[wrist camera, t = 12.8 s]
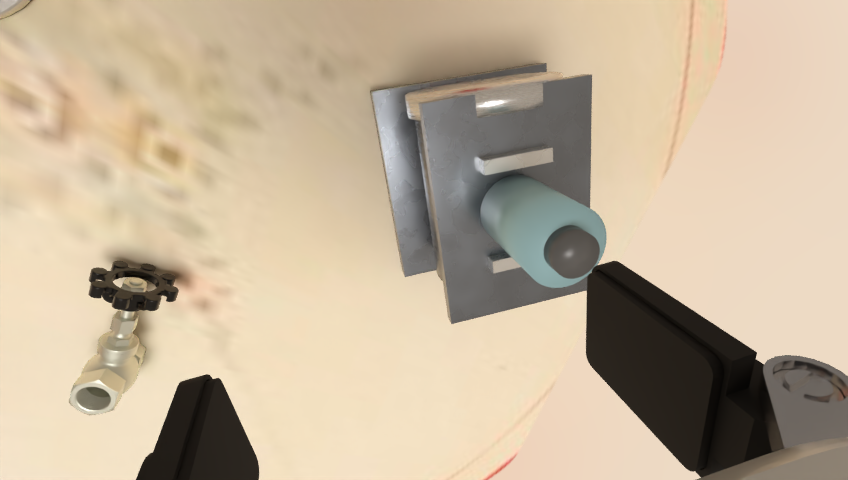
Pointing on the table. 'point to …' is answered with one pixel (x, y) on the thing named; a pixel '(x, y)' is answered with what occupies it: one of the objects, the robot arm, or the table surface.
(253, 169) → the table surface
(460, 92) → the motor
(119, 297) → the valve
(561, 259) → the teal cylinder with cap
